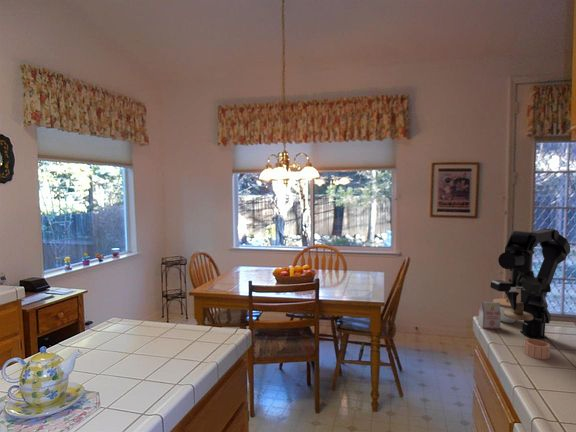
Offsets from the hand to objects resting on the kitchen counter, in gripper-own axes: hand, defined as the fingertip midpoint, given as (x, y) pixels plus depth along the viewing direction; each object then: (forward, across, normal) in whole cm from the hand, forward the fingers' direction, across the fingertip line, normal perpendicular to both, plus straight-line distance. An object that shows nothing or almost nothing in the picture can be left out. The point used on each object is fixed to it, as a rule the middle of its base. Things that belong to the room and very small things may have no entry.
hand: (518, 309), depth 138 cm
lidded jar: (+12, +11, +23) cm, 28 cm away
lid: (+2, 0, 0) cm, 2 cm away
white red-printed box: (+12, -1, +15) cm, 19 cm away
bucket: (+12, 0, -10) cm, 16 cm away
